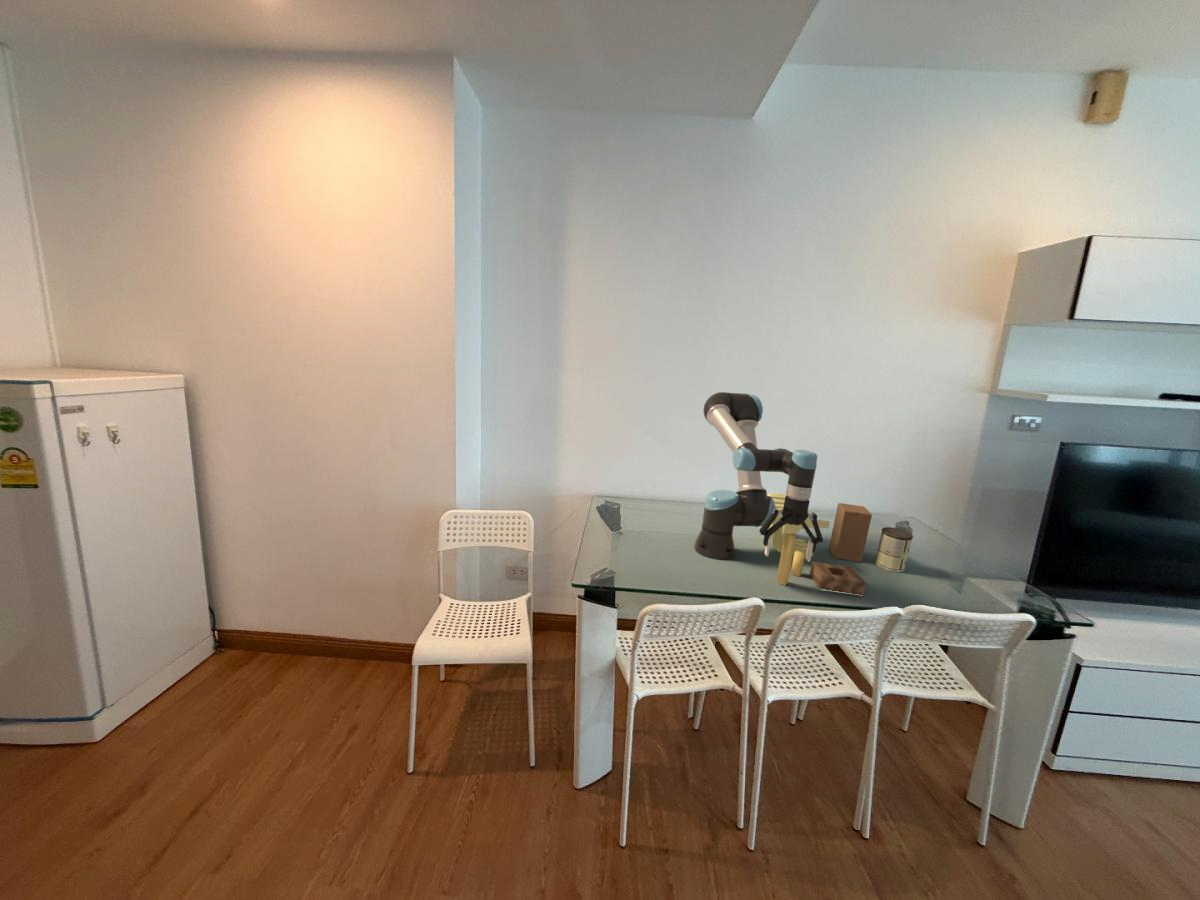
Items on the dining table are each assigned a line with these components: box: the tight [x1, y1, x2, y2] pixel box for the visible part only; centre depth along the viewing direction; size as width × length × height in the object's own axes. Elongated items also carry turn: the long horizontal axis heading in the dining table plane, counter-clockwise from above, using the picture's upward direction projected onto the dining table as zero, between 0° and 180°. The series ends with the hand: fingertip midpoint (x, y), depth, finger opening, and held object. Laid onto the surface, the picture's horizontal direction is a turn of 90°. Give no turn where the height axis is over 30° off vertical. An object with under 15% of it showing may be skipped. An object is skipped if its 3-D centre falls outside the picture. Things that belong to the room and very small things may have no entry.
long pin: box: [775, 532, 797, 585], centre depth 169 cm, size 4×4×18 cm
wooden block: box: [828, 502, 873, 563], centre depth 197 cm, size 10×10×20 cm
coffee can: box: [874, 526, 914, 573], centre depth 191 cm, size 10×10×14 cm
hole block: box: [809, 561, 867, 596], centre depth 172 cm, size 14×12×5 cm
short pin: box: [790, 551, 806, 577], centre depth 178 cm, size 4×4×8 cm
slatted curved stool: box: [767, 492, 831, 557], centre depth 201 cm, size 30×16×18 cm, turn 176°
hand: (786, 557), depth 168 cm, fingers open, 13 cm apart
